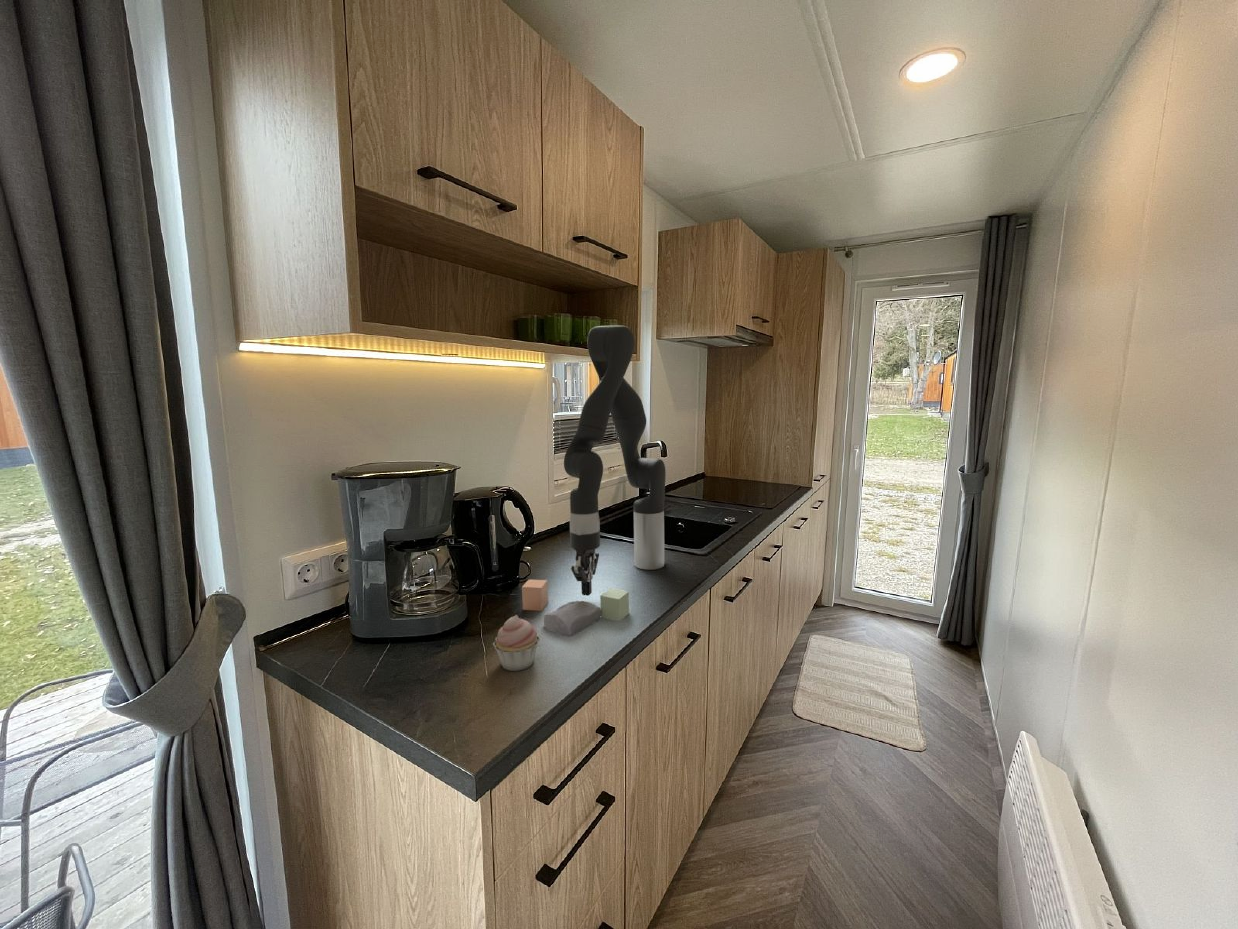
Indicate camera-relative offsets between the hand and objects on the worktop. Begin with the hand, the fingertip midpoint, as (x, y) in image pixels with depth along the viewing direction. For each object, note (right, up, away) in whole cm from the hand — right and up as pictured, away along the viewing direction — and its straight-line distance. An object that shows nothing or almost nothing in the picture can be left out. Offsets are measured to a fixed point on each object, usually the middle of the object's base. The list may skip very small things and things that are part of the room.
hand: (586, 594), depth 128 cm
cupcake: (-12, -6, -29) cm, 32 cm away
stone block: (-3, -4, -11) cm, 12 cm away
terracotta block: (-13, -2, -2) cm, 13 cm away
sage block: (+7, -3, -8) cm, 11 cm away
